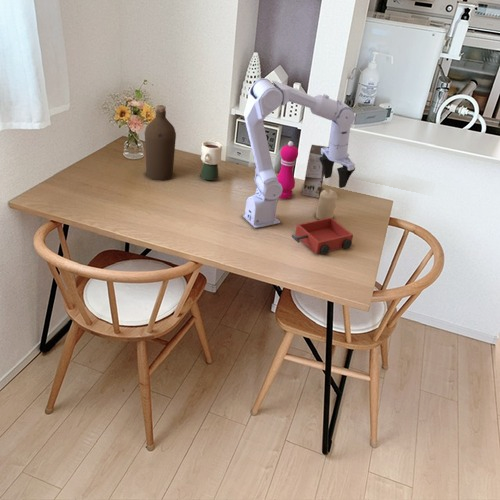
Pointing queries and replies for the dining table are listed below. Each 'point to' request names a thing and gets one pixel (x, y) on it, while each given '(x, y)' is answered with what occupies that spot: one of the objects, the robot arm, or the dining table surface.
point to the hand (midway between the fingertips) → (334, 182)
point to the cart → (323, 234)
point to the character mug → (210, 159)
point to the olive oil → (160, 146)
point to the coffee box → (314, 173)
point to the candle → (326, 204)
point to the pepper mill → (287, 169)
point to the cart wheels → (325, 247)
